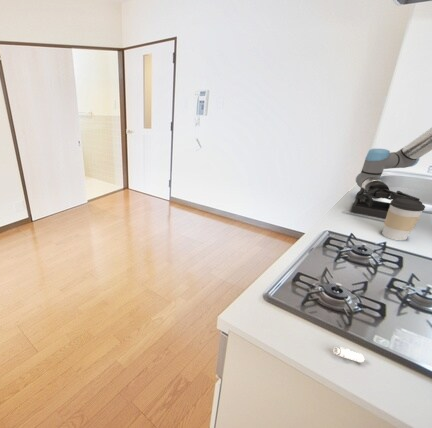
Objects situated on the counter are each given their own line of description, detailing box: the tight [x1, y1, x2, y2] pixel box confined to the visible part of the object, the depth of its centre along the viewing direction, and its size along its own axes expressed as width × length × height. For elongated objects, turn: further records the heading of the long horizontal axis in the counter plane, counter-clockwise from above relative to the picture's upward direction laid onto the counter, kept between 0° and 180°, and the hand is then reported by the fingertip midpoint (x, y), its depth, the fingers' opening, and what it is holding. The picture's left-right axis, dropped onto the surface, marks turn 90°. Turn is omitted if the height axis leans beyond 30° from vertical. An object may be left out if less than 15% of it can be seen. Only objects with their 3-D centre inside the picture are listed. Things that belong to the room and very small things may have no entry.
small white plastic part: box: [332, 346, 366, 363], centre depth 62 cm, size 4×6×3 cm, turn 49°
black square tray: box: [350, 198, 391, 220], centre depth 127 cm, size 13×13×3 cm
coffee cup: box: [381, 197, 426, 241], centre depth 104 cm, size 9×9×15 cm
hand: (393, 205), depth 110 cm, fingers open, 13 cm apart
